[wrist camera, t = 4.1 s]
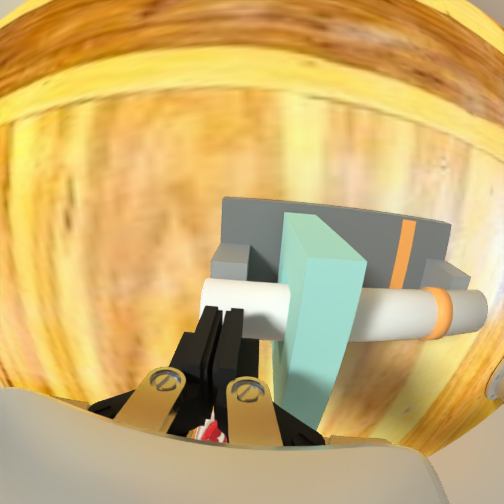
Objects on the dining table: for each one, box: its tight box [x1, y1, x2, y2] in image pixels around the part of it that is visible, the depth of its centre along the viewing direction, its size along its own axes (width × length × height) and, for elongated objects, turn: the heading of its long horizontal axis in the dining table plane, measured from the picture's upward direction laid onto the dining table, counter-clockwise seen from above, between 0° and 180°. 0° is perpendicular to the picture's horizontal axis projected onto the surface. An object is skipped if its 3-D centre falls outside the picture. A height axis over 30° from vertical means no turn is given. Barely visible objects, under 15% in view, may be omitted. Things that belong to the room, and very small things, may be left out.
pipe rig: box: [200, 197, 488, 342], centre depth 16 cm, size 18×10×8 cm, turn 86°
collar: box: [272, 212, 367, 431], centre depth 14 cm, size 2×9×9 cm, turn 176°
